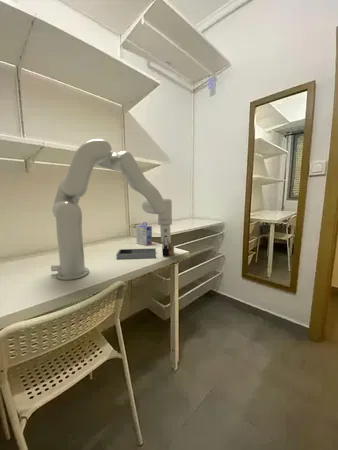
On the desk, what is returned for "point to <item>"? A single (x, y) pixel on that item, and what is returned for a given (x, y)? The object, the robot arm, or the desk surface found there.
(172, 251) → the walnut block
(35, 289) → the desk surface
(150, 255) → the dark grey tray
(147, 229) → the ink cartridge box
